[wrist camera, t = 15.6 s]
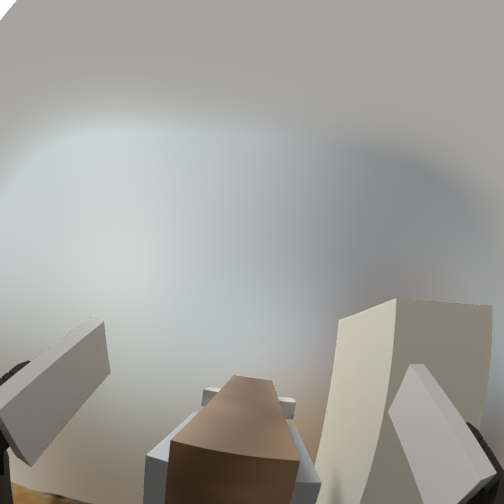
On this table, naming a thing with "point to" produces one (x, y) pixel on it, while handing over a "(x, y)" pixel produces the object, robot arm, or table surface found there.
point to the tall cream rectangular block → (395, 392)
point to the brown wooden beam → (235, 448)
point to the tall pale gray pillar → (158, 464)
